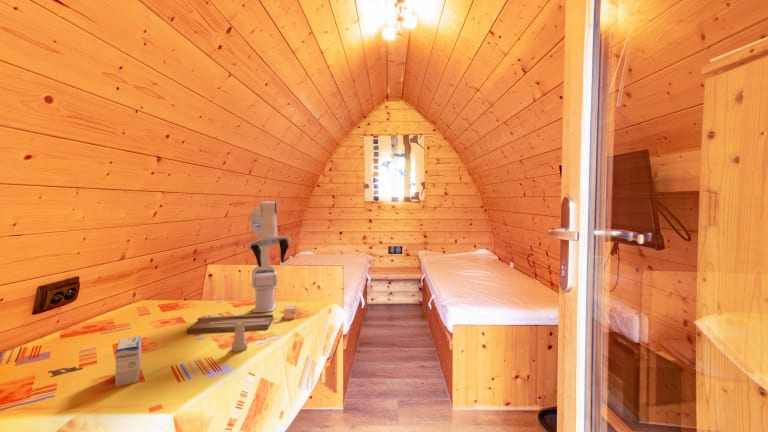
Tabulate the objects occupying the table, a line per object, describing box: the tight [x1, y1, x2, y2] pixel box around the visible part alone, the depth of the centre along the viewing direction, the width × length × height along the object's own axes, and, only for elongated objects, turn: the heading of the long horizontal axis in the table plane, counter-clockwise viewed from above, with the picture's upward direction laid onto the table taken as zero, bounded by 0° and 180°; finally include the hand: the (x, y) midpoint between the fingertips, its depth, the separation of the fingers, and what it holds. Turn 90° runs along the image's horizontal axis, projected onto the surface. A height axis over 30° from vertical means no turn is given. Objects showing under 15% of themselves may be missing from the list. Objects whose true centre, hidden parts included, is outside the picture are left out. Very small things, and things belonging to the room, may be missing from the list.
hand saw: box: [47, 366, 84, 378], centre depth 87 cm, size 24×5×1 cm, turn 138°
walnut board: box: [186, 313, 274, 334], centre depth 113 cm, size 10×26×2 cm, turn 99°
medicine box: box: [114, 335, 142, 387], centre depth 77 cm, size 8×4×9 cm, turn 35°
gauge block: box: [283, 304, 298, 320], centre depth 124 cm, size 5×4×4 cm
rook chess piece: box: [231, 321, 248, 353], centre depth 94 cm, size 4×4×8 cm
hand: (271, 263), depth 110 cm, fingers open, 7 cm apart
